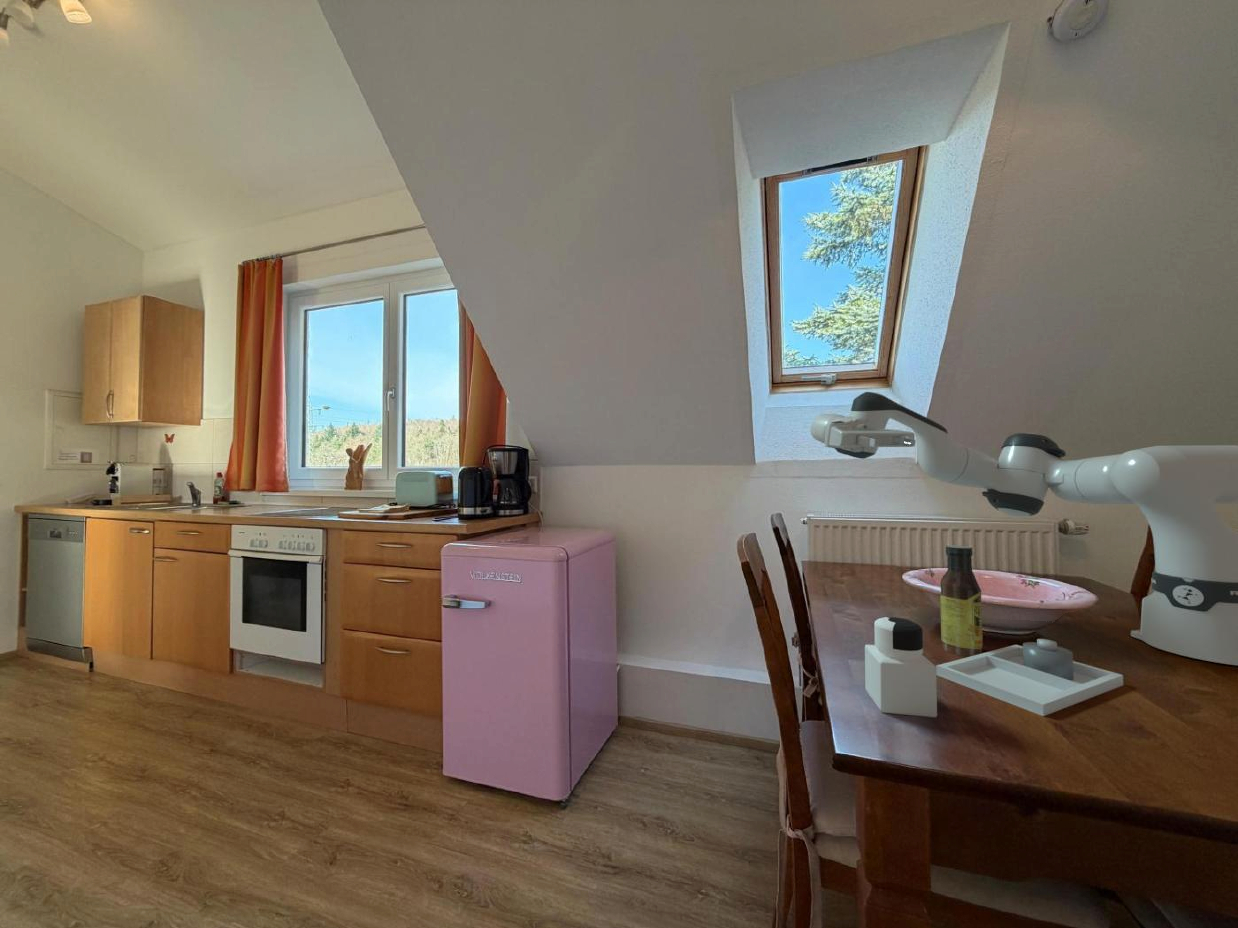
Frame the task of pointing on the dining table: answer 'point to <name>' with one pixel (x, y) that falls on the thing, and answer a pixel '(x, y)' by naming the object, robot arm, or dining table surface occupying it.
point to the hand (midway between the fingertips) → (895, 443)
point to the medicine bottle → (900, 669)
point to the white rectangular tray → (1027, 680)
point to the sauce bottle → (960, 604)
